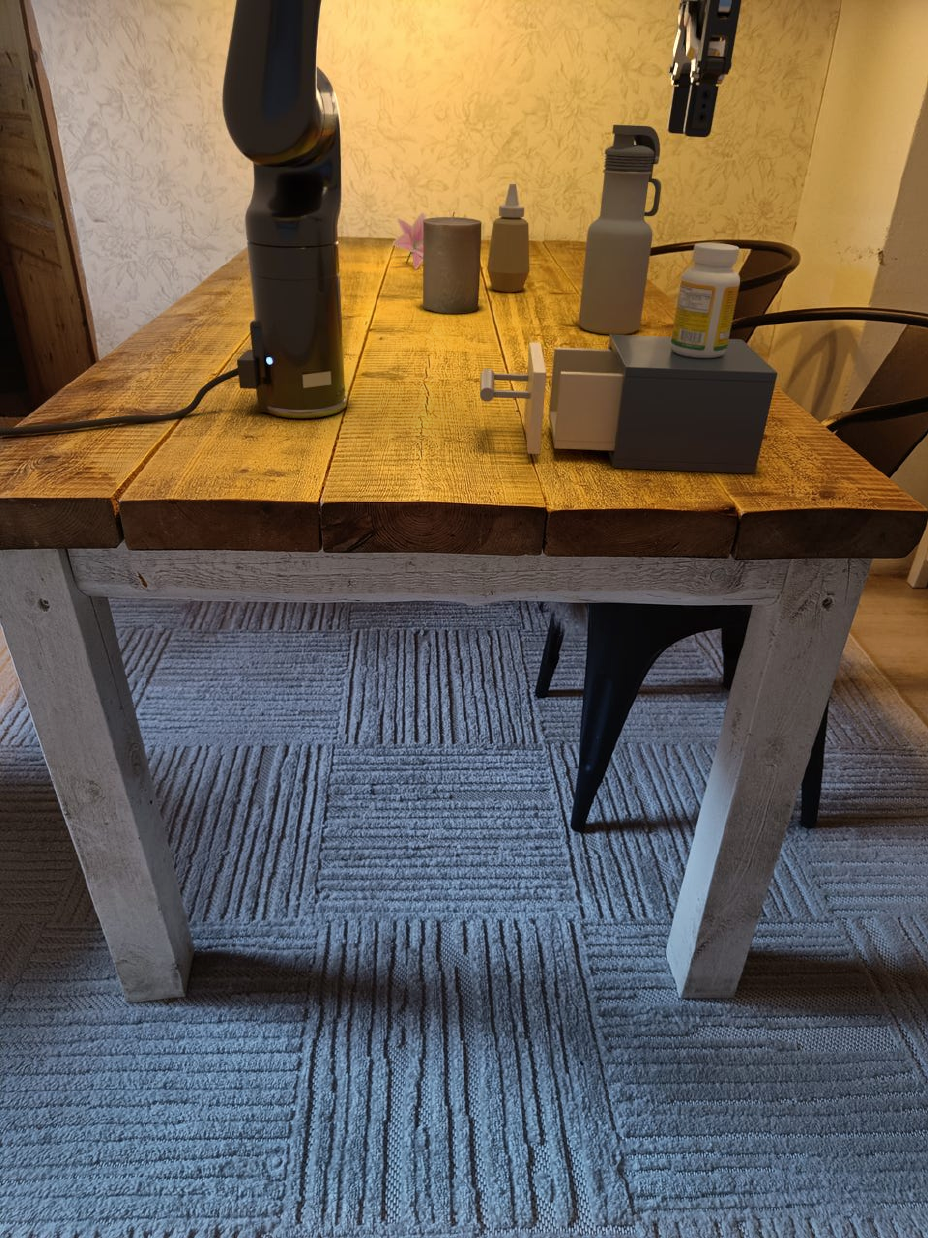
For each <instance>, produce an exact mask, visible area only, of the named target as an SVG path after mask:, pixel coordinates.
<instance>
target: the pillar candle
mask: <svg viewBox="0 0 928 1238" xmlns="http://www.w3.org/2000/svg"><path fill="white" fill-rule="evenodd" d="M455 214H456V212H455V211H453V212H452V216H437V217H429V218H426V219H424V220H423V261H422V308H423V309H424V310H428V311H432V312H434V313H438V314H445V315H446V314H449V315H450V314H451V315H459V314H467V313H473V312H476V311H479V309H480V308H479V301H480V300H479V299H480V284H481V283H480V280H481V279H480V278H481V255H482V224H483V223H482V222H483V221H481V220H480V219H475V218H469V217H458V216H457V217H455Z"/></svg>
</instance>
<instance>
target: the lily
mask: <svg viewBox="0 0 928 1238" xmlns="http://www.w3.org/2000/svg"><path fill="white" fill-rule="evenodd" d="M424 219H427V215H426V214H425V213H424V212H421V213H420V214H419V215H418V216H417V217H416V219H415V220H414V222H413V224H412V225H411V224H409V223H408V222H407V221H405V220H403V219H401V218H396V220H397V223H398V224H399V227H400V230H401V231H402V234H401V235H399V236H397V238H395V239H394V241H393V242H392V245H393V246H394V247H397V248H399V249H403V250H405V251H408V252H409V253H408V256H407V259H406V261H405V264H408V262H409V260H410V257H411V260H412V264H413V268H414V270H417V269H419V267H420V265H421V264H422V263H423V220H424Z"/></svg>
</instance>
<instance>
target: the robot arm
mask: <svg viewBox="0 0 928 1238" xmlns="http://www.w3.org/2000/svg"><path fill="white" fill-rule="evenodd" d="M322 2H323V0H236V1H235V6H234V12H233V19H232V26H231V32H230V39H229V44H228V50H227V57H226V63H225V69H224V75H223V76H224V77H223V82H222V94H221V95H222V96H221V97H222V100H221V102H222V113H223V118H224V122H225V123H224V124H225V126H226V129H227V132H228V134H229V136H230V138H231V141H232V143H233V144H234V145H235V147H236V148H237V150H238V151H239V152H240V153H241V154H242V155H243V156H244V157H245V158H246V159H247V160H249V161H250V162H252V167H253V189H252V195H251V198H250V202H249V204H248V207H247V208H246V211H245V214H244V223H245V224H244V226H245V236H246V244H247V245H246V246H247V253H248V254H247V255H248V264H249V275H250V284H251V295H252V305H253V316H254V319H253V320H251V322H250V323H249V332H250V343H251V349H247V350H246V351H244V353H242V354H241V355H240V356H239V357H238V358H237V359H236V366H237V367H236V368H233V369H232V370H229V371H227V372H225V373H222V374H220V375H219V376H216V377H214V378H212V379H211V380H210V381H208V382H207V383H206V384H204V385H203V386H202V387H200V389H199V390H198V392H197V393H196V395H195V396H194V398H193V399H192V401H191V402H190V403H189V404H188V405H187V406H186V407H184V408H181V409H180V410H177V411H174V412H171V413H166V414H165V413H164V414H155V415H154V414H152V415H151V414H150V415H149V414H148V415H145V414H143V415H142V414H141V415H139V414H135V415H120V416H113V417H112V416H111V417H103V418H96V419H88V420H81V421H73V422H64V423H54V424H42V425H41V424H40V425H29V426H16V427H15V426H14V427H13V426H12V427H0V436H1V437H2V436H3V437H4V436H21V435H22V436H23V435H33V434H47V433H57V432H65V431H74V430H82V429H90V428H97V427H99V428H100V427H105V426H113V425H120V424H133V423H134V424H137V423H138V424H139V423H140V424H141V423H158V422H165V421H171V420H172V421H173V420H177V419H181V418H183V417H186V416H188V415H190V414H191V413H193V412H194V411H195V410H196V409H197V408H198V406H199V405H200V403H201V402H202V400H203V399H204V397H205V396H206V395H207V393H209V392H210V391H211V390H212V389H213V388H215V387H217V386H218V385H220V384H222V383H225V382H226V381H229V380H231V379H233V378H235V377H237V376H238V382H239V389H248V390H249V389H252V390H256V400H257V412H258V413H266V414H270V415H274V416H277V417H283V418H290V419H312V418H322V417H327V416H331V415H335V414H337V413H340V412H341V411H343V410H345V408H346V407H347V395H346V382H345V360H344V356H345V355H344V339H343V334H344V333H343V316H342V315H343V314H342V294H341V292H342V291H341V274H340V272H341V269H340V252H339V251H340V249H339V248H340V247H339V219H340V214H341V209H342V202H343V201H342V200H343V199H342V198H343V175H342V170H343V169H342V131H341V130H342V129H341V118H340V117H341V116H340V108H339V103H338V99H337V95H336V92H335V89H334V88H333V87H334V86H333V85H332V83H331V81H330V80H329V78H328V77H327V75H326V74H325V72H324V71H322V69H321V68H320V67H318V66H317V65H318V46H319V33H320V32H319V31H320V19H321V11H322V5H323V4H322ZM741 7H742V0H681V1H680V2H679V6H678V10H679V11H678V17H677V24H676V30H675V36H674V43H673V49H672V55H671V62H670V66H669V69H668V74H669V78H670V81H671V86H672V92H671V99H670V105H669V110H668V119H667V125H666V131H667V132H668V133H669V134H674V135H675V134H677V135H684V136H686V137H688V138H690V137H691V138H707V137H709V136H710V135H711V132H712V127H713V122H714V116H715V110H716V105H717V99H718V94H719V93H718V92H719V87H720V85H722V83H723V81H724V80H725V76H727V75H729V73H730V71H731V69H732V66H733V65H732V64H733V62H732V60H733V54H734V48H735V43H736V36H737V31H738V30H737V29H738V24H739V17H740V13H741V12H740V11H741Z"/></svg>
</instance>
